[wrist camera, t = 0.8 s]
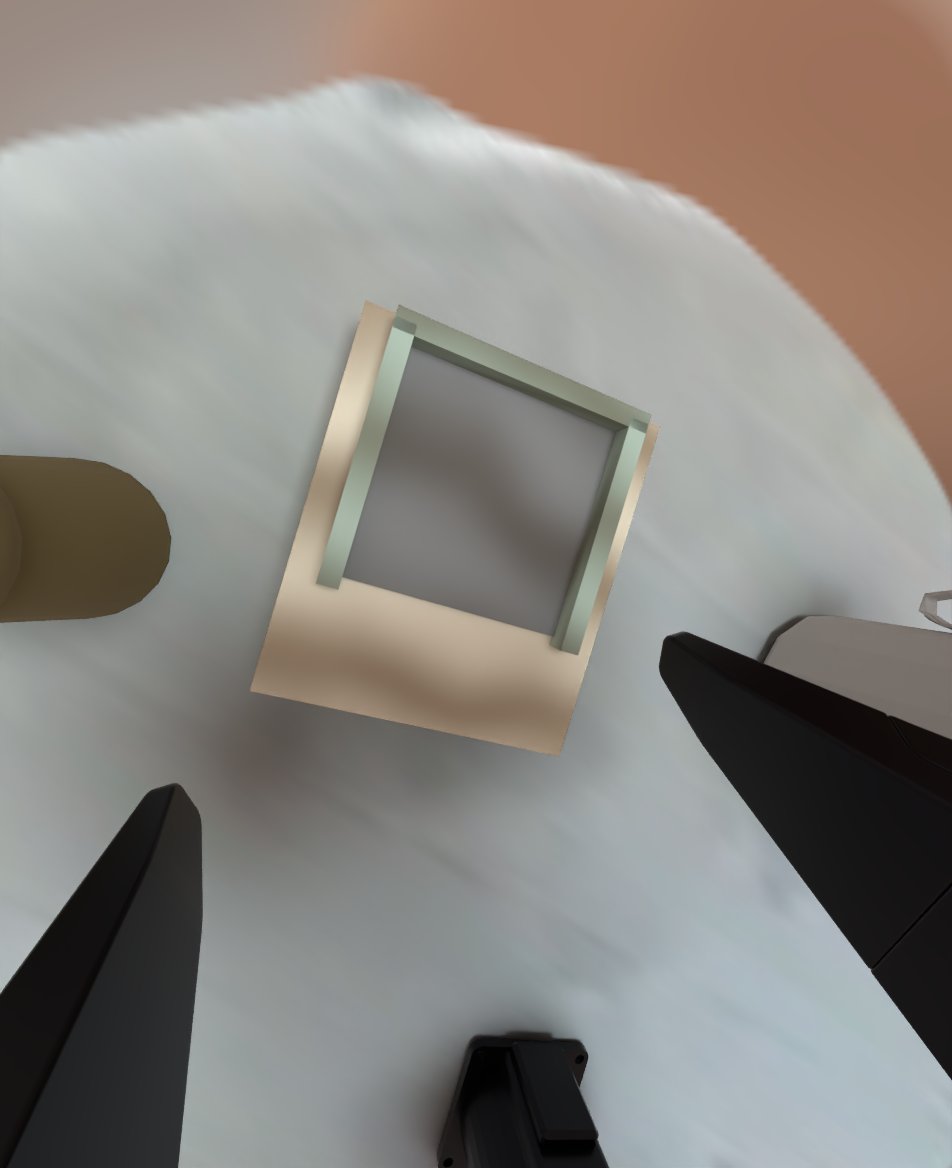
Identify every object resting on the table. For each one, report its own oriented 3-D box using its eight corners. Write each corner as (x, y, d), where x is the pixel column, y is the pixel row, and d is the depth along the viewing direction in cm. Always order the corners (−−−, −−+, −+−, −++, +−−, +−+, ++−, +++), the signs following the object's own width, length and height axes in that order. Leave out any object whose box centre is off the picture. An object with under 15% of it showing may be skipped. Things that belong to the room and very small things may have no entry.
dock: (538, 735, 25) (570, 768, 21) (260, 673, 21) (243, 700, 18) (629, 438, 24) (677, 420, 21) (363, 327, 21) (366, 284, 17)
